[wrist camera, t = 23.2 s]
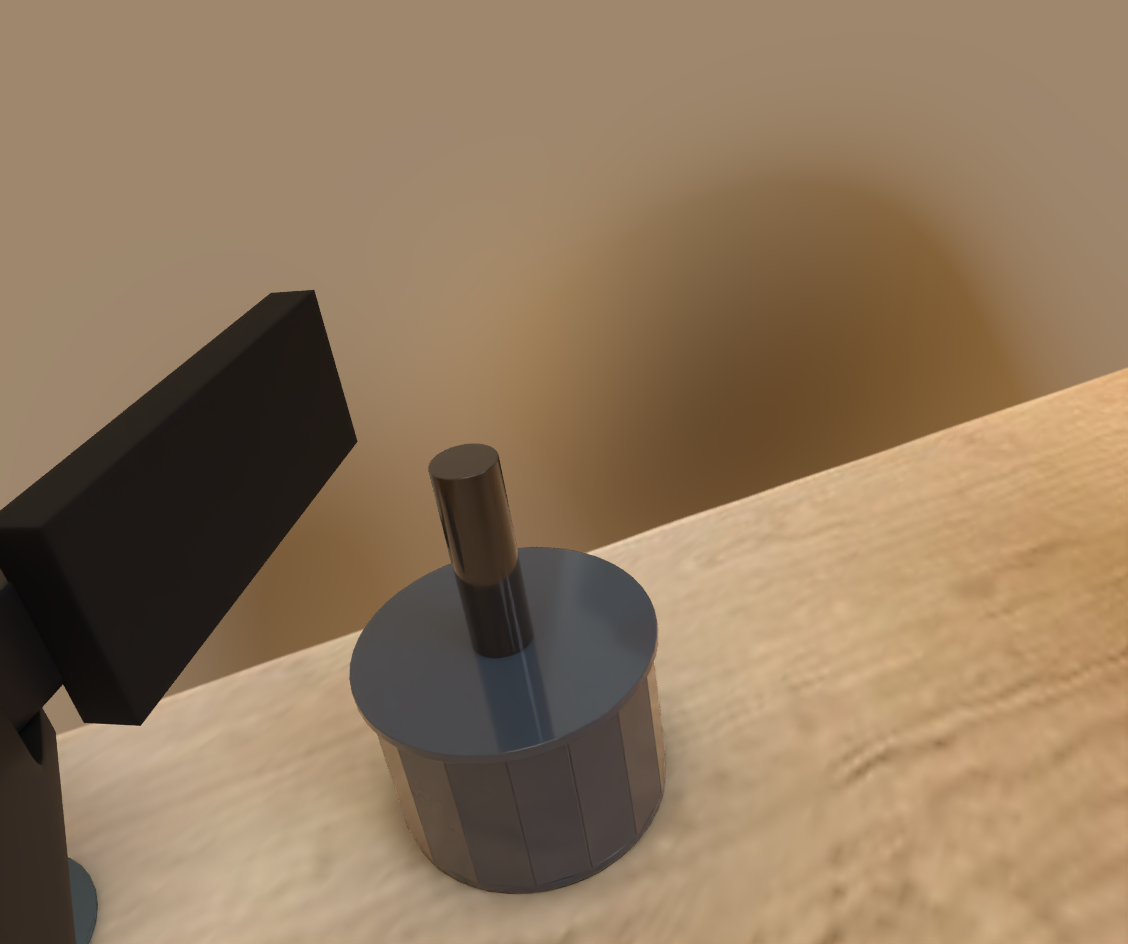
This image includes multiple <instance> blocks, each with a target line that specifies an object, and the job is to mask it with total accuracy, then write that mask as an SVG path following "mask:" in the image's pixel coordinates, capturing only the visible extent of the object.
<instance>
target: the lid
mask: <svg viewBox="0 0 1128 944" xmlns="http://www.w3.org/2000/svg"><path fill="white" fill-rule="evenodd" d="M428 471H429V475H430V479H431V483H432V487H433V491H434V495H435V499H436V503H437V507H438V511H439V515H440V519H441V523H442V527H443V531H444V535H445V539H446V543H447V547H448V552H449V556H450V559H451V564H448V565H446V566H443V567H441V568H439V569H437V570H435V571H433V572H431V573H428V574H427V575H425V576H423V577H421V578H420V579H418V580H416V581H414V582H413V583H412V584H410V585H408V586H407V587H405V588H404V589H402V590H401V591H400V592H398V593H397V594H396V595H395V596H394V597H392V598H391V599H390V600H389V601H388V602H386V603H385V604H384V605H383V606H382V607H381V608H380V609H379V610H378V612H377V613H376V614H375V615H374V616H373V617H372V619H371V620H370V621H369V623H368V624H367V625H366V627H365V628H364V630H363V632H362V633H361V635H360V637H359V638H358V641H357V643H356V646H355V648H354V650H353V654H352V659H351V663H350V678H349V679H350V685H351V691H352V695H353V698H354V700H355V703H356V705H357V708H358V710H359V713H360V714H361V716H362V717H363V719H364V720H365V722H366V723H367V724H368V725H369V726H370V727H371V728H372V730H373V731H374V732H375V733H376V734H377V735H379V736H380V737H381V738H383V739H384V740H386V741H387V742H388V743H390V744H391V745H393V746H395V747H397V748H399V749H401V750H403V751H405V752H407V753H410V754H413V755H416V756H419V757H422V758H425V759H430V760H435V761H440V762H445V763H457V764H492V763H499V762H507V761H514V760H518V759H523V758H527V757H531V756H535V755H539V754H542V753H545V752H548V751H551V750H553V749H556V748H559V747H561V746H564V745H566V744H568V743H570V742H572V741H575V740H577V739H579V738H581V737H583V736H584V735H586V734H588V733H589V732H591V731H593V730H595V729H596V728H598V727H599V726H601V725H602V724H603V723H605V722H606V721H607V720H609V719H610V718H611V717H613V716H614V715H615V714H616V713H618V712H619V711H620V710H621V709H622V708H623V707H624V706H625V705H626V704H627V703H628V702H629V701H630V700H631V699H632V697H633V696H634V695H635V694H636V693H637V691H638V690H639V689H640V688H641V686H642V684H643V683H644V681H645V679H646V678H647V676H648V674H649V673H650V670H651V668H652V665H653V662H654V660H655V657H656V652H657V647H658V624H657V619H656V614H655V610H654V607H653V605H652V602H651V600H650V598H649V597H648V595H647V594H646V592H645V591H644V589H643V588H642V586H641V585H640V584H639V583H638V582H637V581H636V580H635V579H634V578H633V577H632V576H630V575H629V574H628V573H626V572H625V571H624V570H622V569H621V568H619V567H617V566H616V565H614V564H612V563H610V562H608V561H606V560H603V559H601V558H598V557H596V556H593V555H589V554H586V553H582V552H578V551H573V550H567V549H559V548H549V547H526V548H517V545H516V540H515V534H514V530H513V525H512V520H511V515H510V510H509V505H508V500H507V495H506V490H505V485H504V480H503V476H502V470H501V465H500V460H499V455H498V453H497V451H496V450H495V449H494V448H492V447H491V446H488V445H484V444H464V445H459V446H455V447H452V448H449V449H447V450H444V451H443V452H441V453H439V454H438V455H436V456H435V457H434V458H433V459H432V460H431V461H430V463H429V467H428Z"/></svg>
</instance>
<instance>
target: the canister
mask: <svg viewBox="0 0 1128 944" xmlns="http://www.w3.org/2000/svg"><path fill="white" fill-rule="evenodd" d="M377 736H378V739H379V742H380V745H381V748H382V751H383V754H384V757H385V760H386V763H387V766H388V769H389V772H390V775H391V778H392V781H393V784H394V787H395V790H396V793H397V796H398V799H399V802H400V805H401V808H402V811H403V814H404V817H405V820H406V823H407V826H408V829H409V830H410V832H411V833H412V834H413V836H414V838H415V840H416V842H417V844H418V845H419V847H420V848H421V850H422V851H423V853H424V854H425V855H426V856H427V857H428V859H429V860H430V861H431V862H432V863H433V864H434V865H435V866H437V867H438V868H439V869H440V870H442V871H443V872H444V873H446V874H447V875H449V876H451V877H453V878H454V879H456V880H458V881H460V882H463V883H465V884H468V885H470V886H473V887H476V888H480V889H484V890H488V891H493V892H502V893H533V892H541V891H548V890H552V889H556V888H560V887H564V886H568V885H570V884H573V883H576V882H578V881H581V880H584V879H586V878H588V877H590V876H592V875H594V874H596V873H598V872H600V871H601V870H603V869H604V868H606V867H608V866H609V865H611V864H612V863H614V862H615V861H617V860H618V859H619V858H620V857H621V856H622V855H624V854H625V853H626V852H627V851H628V850H630V848H631V847H632V846H633V845H634V844H635V843H636V842H637V841H638V840H639V839H640V838H641V836H642V835H643V834H644V832H645V831H646V829H647V828H648V826H649V825H650V824H651V822H652V820H653V818H654V816H655V814H656V812H657V810H658V807H659V804H660V801H661V798H662V795H663V790H664V783H665V746H664V738H663V730H662V722H661V714H660V706H659V697H658V689H657V681H656V673H655V665H654V662H653V665H652V668H651V670H650V673H649V674H648V676H647V678H646V679H645V681H644V683H643V684H642V686H641V688H640V689H639V690H638V691H637V693H636V694H635V695H634V696H633V697H632V699H631V700H630V701H629V702H628V703H627V704H626V705H625V706H624V707H623V708H622V709H621V710H620V711H619V712H618V713H616V714H615V715H614V716H613V717H611V718H610V719H609V720H607V721H606V722H605V723H603V724H602V725H601V726H599V727H598V728H596V729H595V730H593V731H591V732H589V733H588V734H586V735H584V736H583V737H581V738H579V739H577V740H575V741H572V742H570V743H568V744H566V745H564V746H561V747H559V748H556V749H553V750H551V751H548V752H545V753H542V754H539V755H535V756H531V757H527V758H523V759H518V760H514V761H507V762H499V763H492V764H457V763H445V762H440V761H435V760H430V759H425V758H422V757H419V756H416V755H413V754H410V753H407V752H405V751H403V750H401V749H399V748H397V747H395V746H393V745H391V744H390V743H388V742H387V741H386V740H384V739H383V738H381V737H380V736H379V735H377Z"/></svg>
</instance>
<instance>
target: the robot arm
mask: <svg viewBox="0 0 1128 944" xmlns="http://www.w3.org/2000/svg"><path fill="white" fill-rule="evenodd" d="M356 443H357V438H356V435H355V431H354V428H353V424H352V421H351V417H350V414H349V410H348V407H347V403H346V400H345V397H344V393H343V389H342V386H341V382H340V379H339V376H338V372H337V368H336V365H335V361H334V358H333V355H332V351H331V347H330V344H329V340H328V337H327V333H326V330H325V326H324V323H323V319H322V316H321V312H320V309H319V305H318V302H317V298H316V295H315V291H314V290H307V291H292V292H280V293H279V292H278V293H270V294H269V295H268V296H266V297H265V298H264V299H263V300H262V301H260V302H259V303H258V304H257V305H255V306H254V307H253V308H252V309H251V310H249V311H248V312H247V313H245V314H244V315H243V316H242V317H240V318H239V319H238V320H237V321H235V322H234V323H233V324H232V325H230V326H229V327H228V328H227V329H226V330H224V331H223V332H222V333H221V334H219V335H218V336H217V337H216V338H214V339H213V340H212V341H211V342H209V343H208V344H207V345H206V346H204V347H203V348H202V349H201V350H199V351H198V352H197V353H196V354H194V355H193V356H192V357H191V358H189V359H188V360H187V361H186V362H184V363H183V364H182V365H181V366H179V368H177V369H176V370H175V371H173V372H172V373H171V374H169V375H168V376H167V377H166V378H165V379H163V380H162V381H161V382H160V383H158V384H157V385H156V386H155V387H153V388H152V389H151V390H150V391H148V392H147V393H146V394H145V395H143V396H142V397H141V398H140V399H139V400H137V401H136V402H135V403H133V404H132V405H131V406H130V407H128V408H127V409H126V410H125V411H123V413H121V414H120V415H118V416H117V417H116V418H115V419H113V420H112V421H111V422H110V423H109V424H107V425H106V426H105V427H104V428H102V429H101V430H100V431H99V432H97V433H96V434H95V435H94V436H92V437H91V438H90V439H89V440H87V441H86V442H85V443H84V444H82V445H81V446H80V447H79V448H78V449H76V450H75V451H74V452H72V453H71V454H70V455H69V456H67V457H66V458H65V459H64V460H63V461H62V462H60V463H59V464H58V465H56V466H55V467H54V468H53V469H51V470H50V471H49V472H48V473H46V474H45V475H44V476H43V477H41V478H40V479H39V480H38V481H36V482H35V483H34V484H33V485H32V486H30V487H29V488H28V489H26V490H25V491H24V492H23V493H21V494H20V495H19V496H18V497H16V498H15V499H14V500H13V501H12V502H10V503H9V504H8V505H7V506H5V507H4V508H3V509H2V510H0V944H76V939H75V929H74V918H73V908H72V898H71V887H70V877H69V866H68V856H67V846H66V835H65V825H64V815H63V804H62V794H61V784H60V773H59V763H58V752H57V742H56V732H55V730H54V728H53V726H52V724H51V723H50V721H49V719H48V717H47V715H46V713H45V712H44V710H43V708H42V707H43V706H44V704H46V703H47V701H48V700H49V699H50V698H51V697H52V696H53V695H54V693H56V691H57V690H58V689H59V688H60V687H61V686H62V685H64V687H65V689H66V690H67V692H68V694H69V696H70V698H71V700H72V702H73V704H74V705H75V707H76V709H77V711H78V713H79V715H80V716H81V718H82V720H83V722H84V723H97V724H116V725H136V726H141V725H142V723H143V722H144V721H145V719H146V718H147V717H148V715H149V714H150V713H151V711H152V710H153V709H154V708H155V706H156V705H157V704H158V702H159V701H160V700H161V698H162V697H163V696H164V694H165V693H166V692H167V691H168V689H169V688H170V687H171V685H172V684H173V683H174V681H175V680H176V679H177V677H178V676H179V675H180V673H181V672H182V671H183V670H184V668H185V667H186V665H187V664H188V663H189V662H190V660H191V659H192V658H193V656H194V655H195V654H196V652H197V651H198V650H199V648H200V647H201V646H202V645H203V643H204V642H205V641H206V639H207V638H208V637H209V635H210V634H211V633H212V632H213V630H214V629H215V627H216V626H217V625H218V624H219V622H220V621H221V620H222V618H223V617H224V616H225V614H226V613H227V612H228V611H229V609H230V608H231V607H232V605H233V604H234V602H235V601H236V600H237V599H238V597H239V596H240V595H241V593H242V592H243V591H244V590H245V588H246V587H247V586H248V584H249V583H250V582H251V580H252V579H253V578H254V576H255V575H256V574H257V573H258V571H259V570H260V569H261V567H262V566H263V565H264V563H265V562H266V561H267V559H268V558H269V557H270V555H271V554H272V553H273V551H274V550H275V549H276V548H277V546H278V545H279V544H280V542H281V541H282V540H283V538H284V537H285V536H286V534H287V533H288V532H289V531H290V529H291V528H292V527H293V525H294V524H295V523H296V521H297V520H298V519H299V518H300V516H301V515H302V514H303V512H304V511H305V510H306V508H307V507H308V506H309V504H310V503H311V501H312V500H313V499H314V498H315V497H316V495H317V494H318V493H319V491H320V490H321V489H322V487H323V486H324V485H325V483H326V482H327V481H328V479H329V478H330V477H331V475H332V474H333V473H334V472H335V470H336V469H337V468H338V466H339V465H340V464H341V462H342V461H343V460H344V458H345V457H346V456H347V455H348V453H349V452H350V451H351V449H352V448H353V447H354V445H355V444H356Z"/></svg>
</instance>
